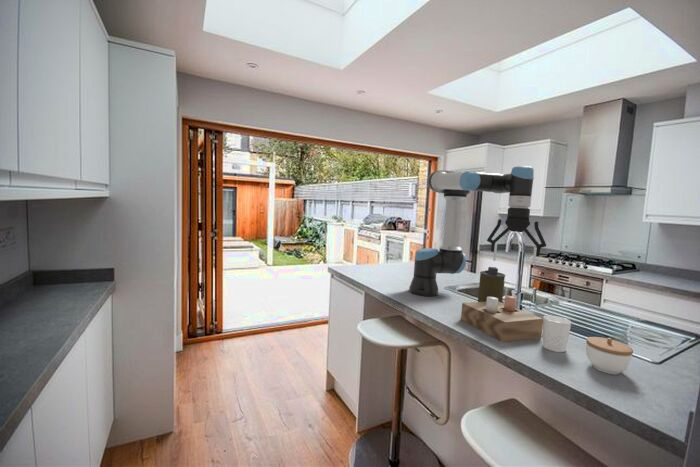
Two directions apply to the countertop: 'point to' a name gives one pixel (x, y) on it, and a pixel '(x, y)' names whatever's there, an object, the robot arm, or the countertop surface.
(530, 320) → the walnut block
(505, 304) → the terracotta plug
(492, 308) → the white glossy ovoid
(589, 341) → the lidded jar
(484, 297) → the canister
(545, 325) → the white cup
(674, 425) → the countertop surface
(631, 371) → the countertop surface
